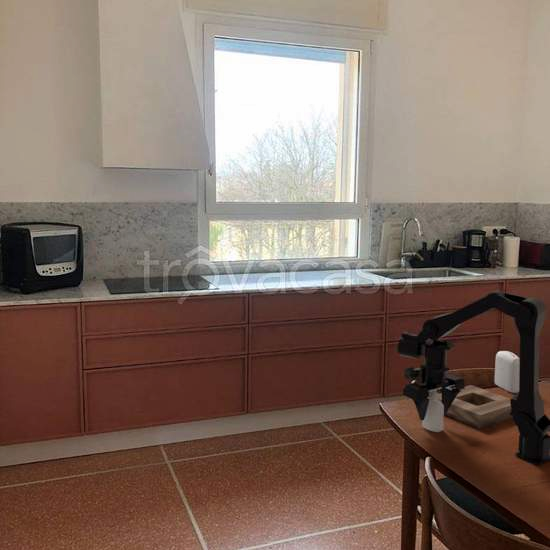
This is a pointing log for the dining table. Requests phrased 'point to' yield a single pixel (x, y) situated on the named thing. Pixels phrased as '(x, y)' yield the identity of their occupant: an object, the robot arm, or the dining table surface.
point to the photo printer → (507, 371)
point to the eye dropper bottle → (434, 413)
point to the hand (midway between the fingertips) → (433, 416)
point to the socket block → (479, 407)
